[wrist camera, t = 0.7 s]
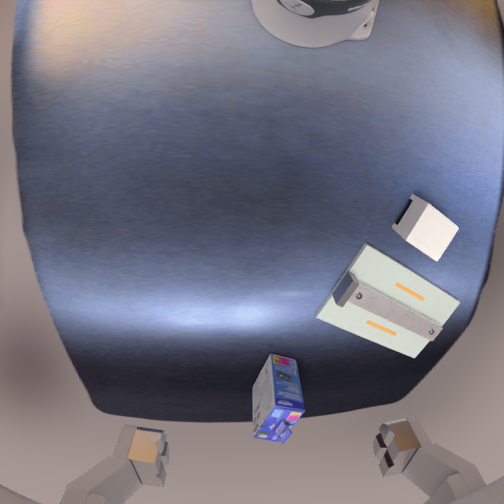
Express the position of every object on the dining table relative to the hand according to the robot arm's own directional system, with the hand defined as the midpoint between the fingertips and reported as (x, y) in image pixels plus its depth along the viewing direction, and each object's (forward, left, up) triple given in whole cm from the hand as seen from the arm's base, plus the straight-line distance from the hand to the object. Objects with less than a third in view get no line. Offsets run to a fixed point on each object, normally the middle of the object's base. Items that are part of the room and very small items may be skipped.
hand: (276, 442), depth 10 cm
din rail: (+6, +28, -34) cm, 44 cm away
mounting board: (+6, +28, -35) cm, 45 cm away
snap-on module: (-8, +22, -35) cm, 43 cm away
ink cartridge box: (+28, +17, -35) cm, 48 cm away
